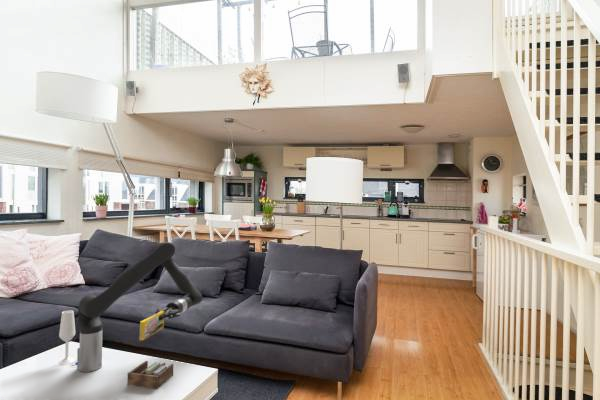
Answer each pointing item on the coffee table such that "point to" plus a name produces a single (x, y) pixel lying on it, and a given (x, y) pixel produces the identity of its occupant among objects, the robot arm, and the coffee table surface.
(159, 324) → the candy box
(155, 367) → the sage offcut
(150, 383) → the offcut rack
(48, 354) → the coffee table surface
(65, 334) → the champagne flute
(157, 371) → the slate offcut
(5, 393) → the coffee table surface
